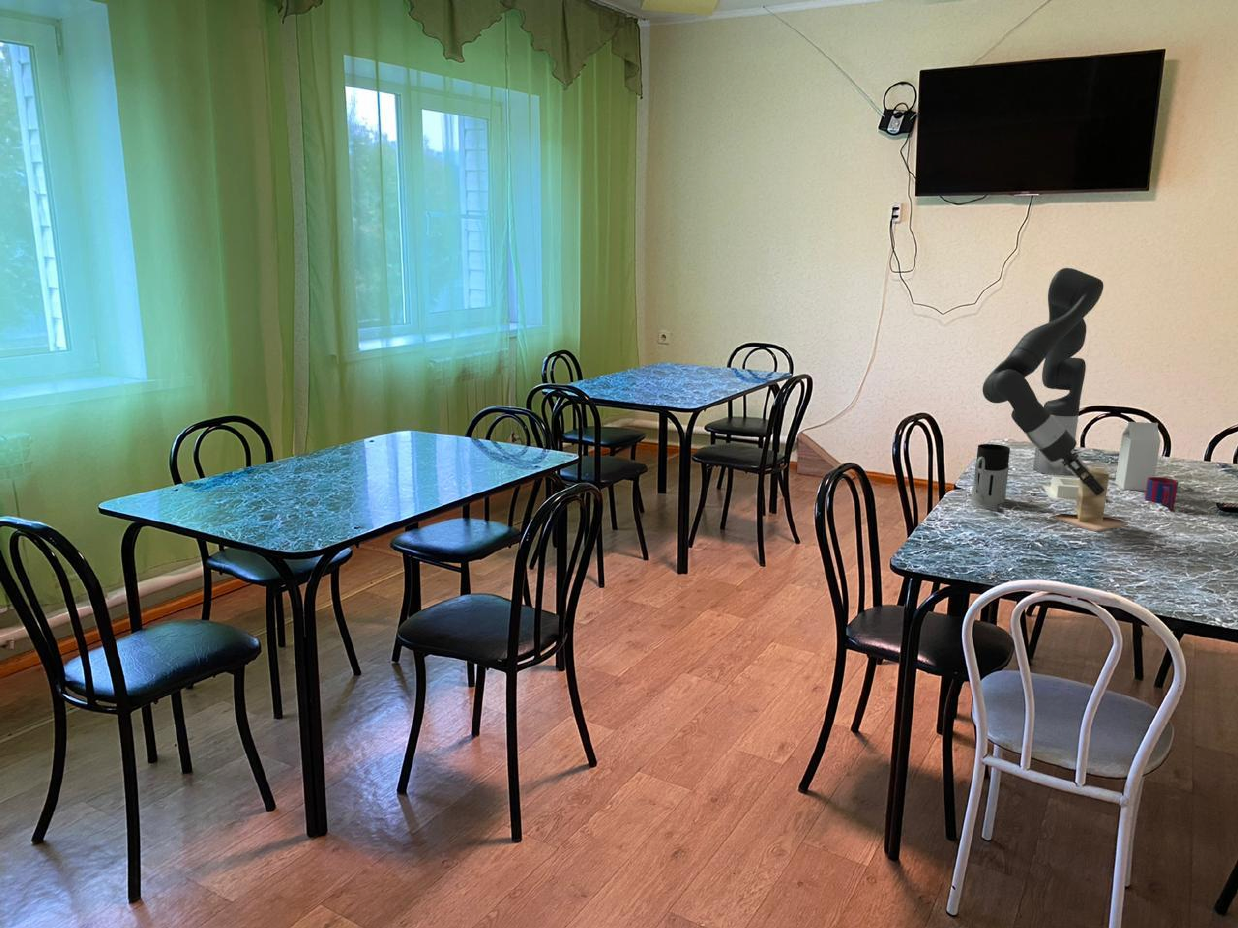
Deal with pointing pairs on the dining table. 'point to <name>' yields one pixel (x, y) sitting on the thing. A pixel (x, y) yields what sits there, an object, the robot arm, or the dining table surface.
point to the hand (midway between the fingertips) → (1096, 488)
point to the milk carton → (1138, 455)
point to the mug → (1162, 491)
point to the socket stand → (1063, 488)
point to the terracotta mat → (1105, 525)
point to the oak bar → (1092, 498)
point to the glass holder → (990, 476)
